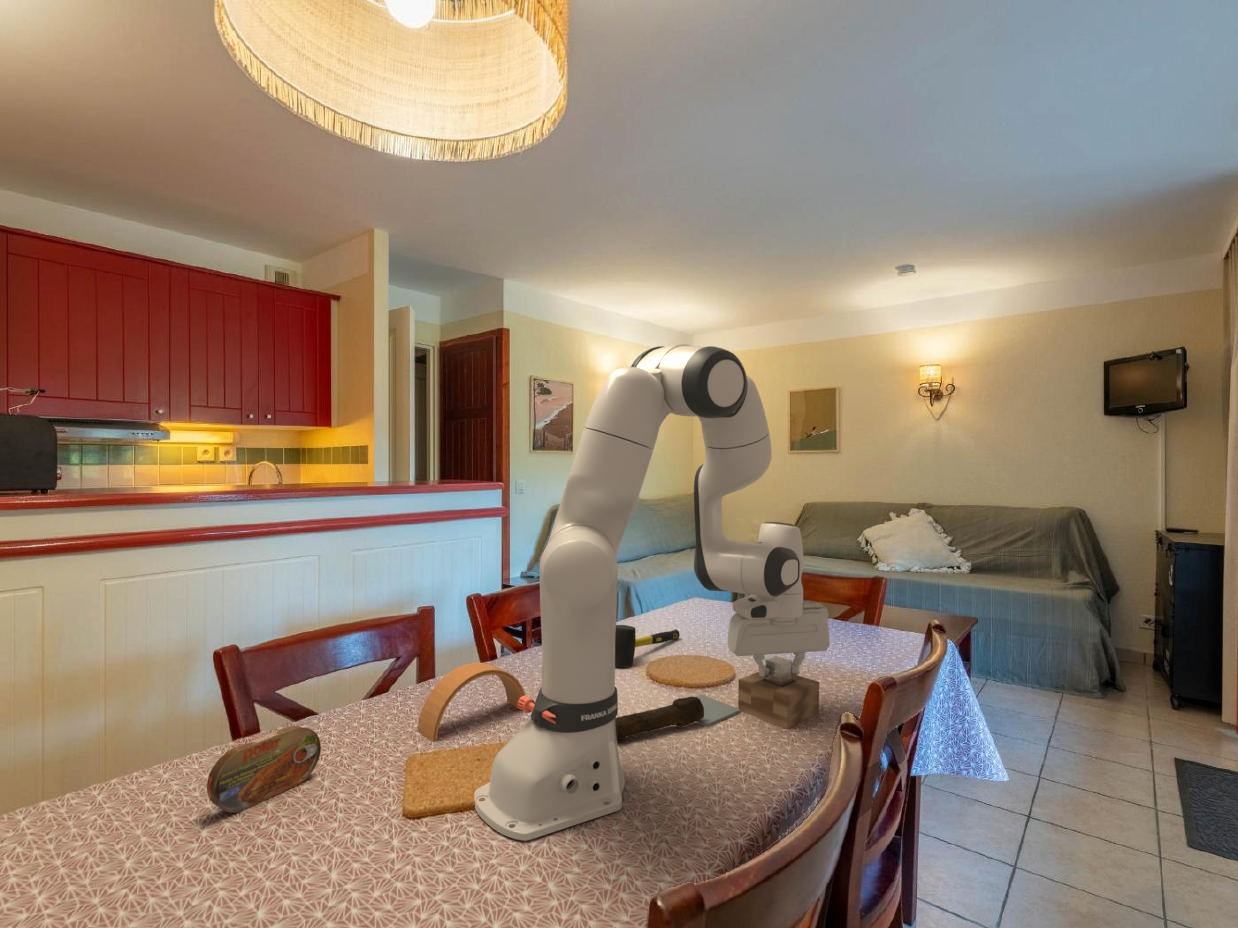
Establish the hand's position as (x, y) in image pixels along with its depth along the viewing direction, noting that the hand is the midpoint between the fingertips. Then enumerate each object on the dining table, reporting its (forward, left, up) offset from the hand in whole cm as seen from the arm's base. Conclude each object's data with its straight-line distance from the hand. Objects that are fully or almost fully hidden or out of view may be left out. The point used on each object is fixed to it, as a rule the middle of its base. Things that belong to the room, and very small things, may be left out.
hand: (778, 674), depth 117 cm
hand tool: (-24, +10, -7) cm, 27 cm away
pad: (-11, +10, -7) cm, 16 cm away
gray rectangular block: (0, 0, -5) cm, 5 cm away
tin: (-82, +32, -7) cm, 88 cm away
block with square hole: (0, 0, -7) cm, 7 cm away
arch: (-47, +35, -8) cm, 59 cm away
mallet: (+6, +42, -8) cm, 43 cm away
